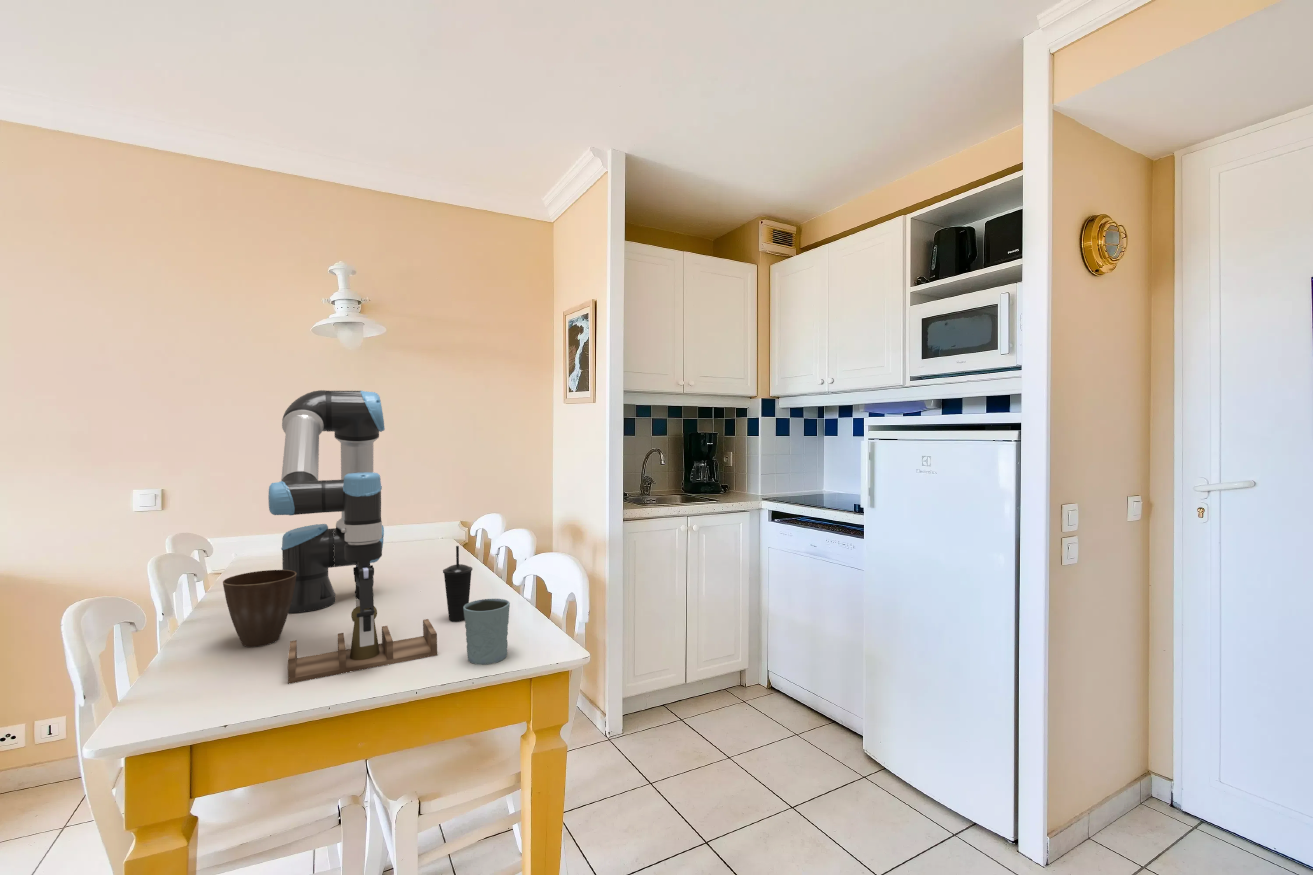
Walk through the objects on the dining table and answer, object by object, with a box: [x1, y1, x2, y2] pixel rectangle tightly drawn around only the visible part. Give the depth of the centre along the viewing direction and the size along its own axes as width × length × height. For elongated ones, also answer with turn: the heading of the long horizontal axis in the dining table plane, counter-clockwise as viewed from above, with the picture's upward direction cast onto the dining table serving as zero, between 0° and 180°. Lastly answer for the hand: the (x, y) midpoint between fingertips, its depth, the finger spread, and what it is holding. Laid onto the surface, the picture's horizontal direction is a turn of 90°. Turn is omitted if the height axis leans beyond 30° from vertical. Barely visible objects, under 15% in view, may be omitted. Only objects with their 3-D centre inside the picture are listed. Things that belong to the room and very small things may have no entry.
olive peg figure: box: [350, 605, 380, 660], centre depth 131 cm, size 6×6×11 cm
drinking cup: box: [442, 545, 473, 623], centre depth 158 cm, size 8×8×20 cm
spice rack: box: [287, 618, 438, 685], centre depth 131 cm, size 12×29×5 cm, turn 120°
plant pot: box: [222, 569, 297, 648], centre depth 143 cm, size 15×15×16 cm
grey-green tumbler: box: [463, 598, 511, 666], centre depth 132 cm, size 10×10×12 cm
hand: (364, 635), depth 131 cm, fingers open, 13 cm apart
